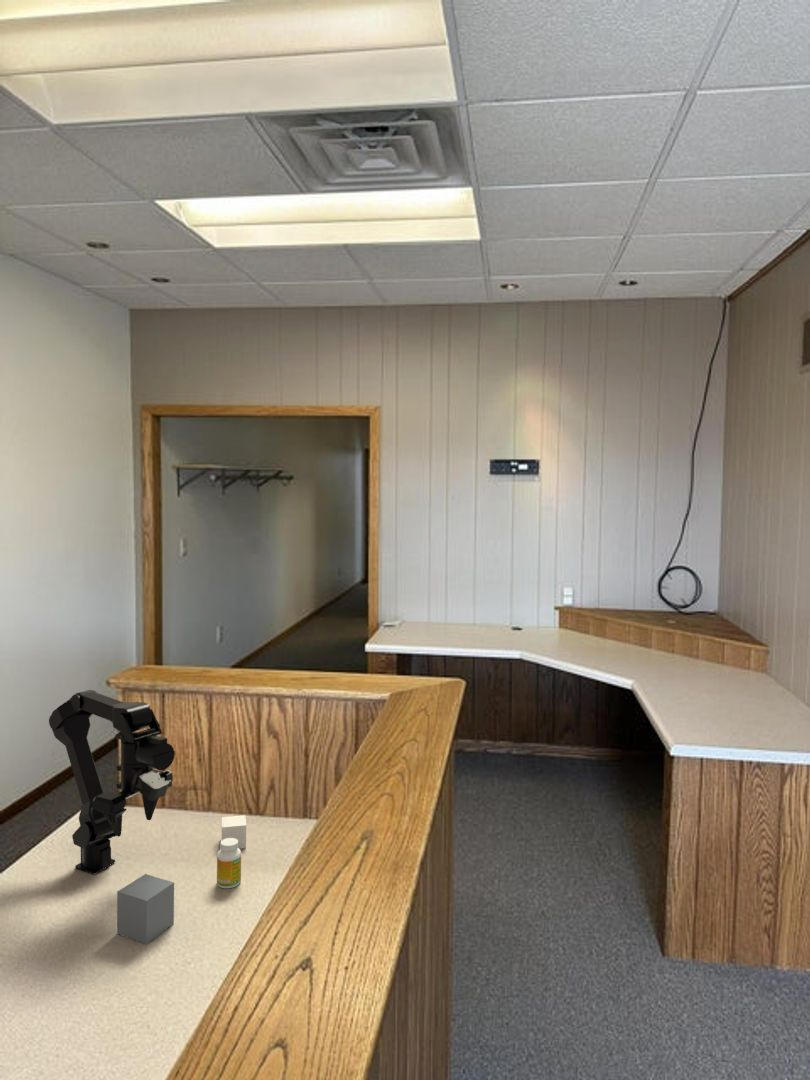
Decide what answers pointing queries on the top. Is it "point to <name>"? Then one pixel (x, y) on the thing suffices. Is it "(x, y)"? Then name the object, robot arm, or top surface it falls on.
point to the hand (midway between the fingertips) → (133, 827)
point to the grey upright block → (145, 908)
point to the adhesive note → (234, 829)
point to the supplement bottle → (229, 864)
